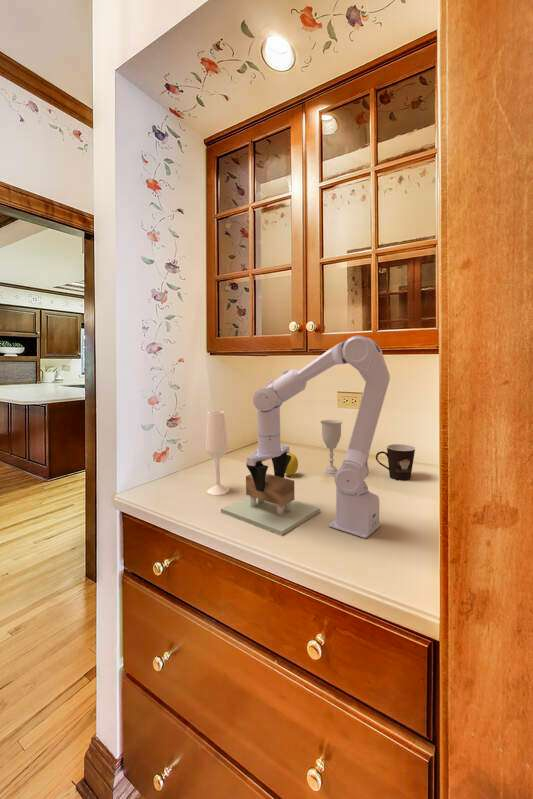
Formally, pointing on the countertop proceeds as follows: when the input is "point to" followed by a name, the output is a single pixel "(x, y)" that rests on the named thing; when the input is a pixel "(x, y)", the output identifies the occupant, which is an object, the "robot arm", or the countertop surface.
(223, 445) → the champagne flute
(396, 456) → the coffee mug
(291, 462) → the lemon
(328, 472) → the chalice
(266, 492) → the shelf block
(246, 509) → the peg base
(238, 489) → the countertop surface
